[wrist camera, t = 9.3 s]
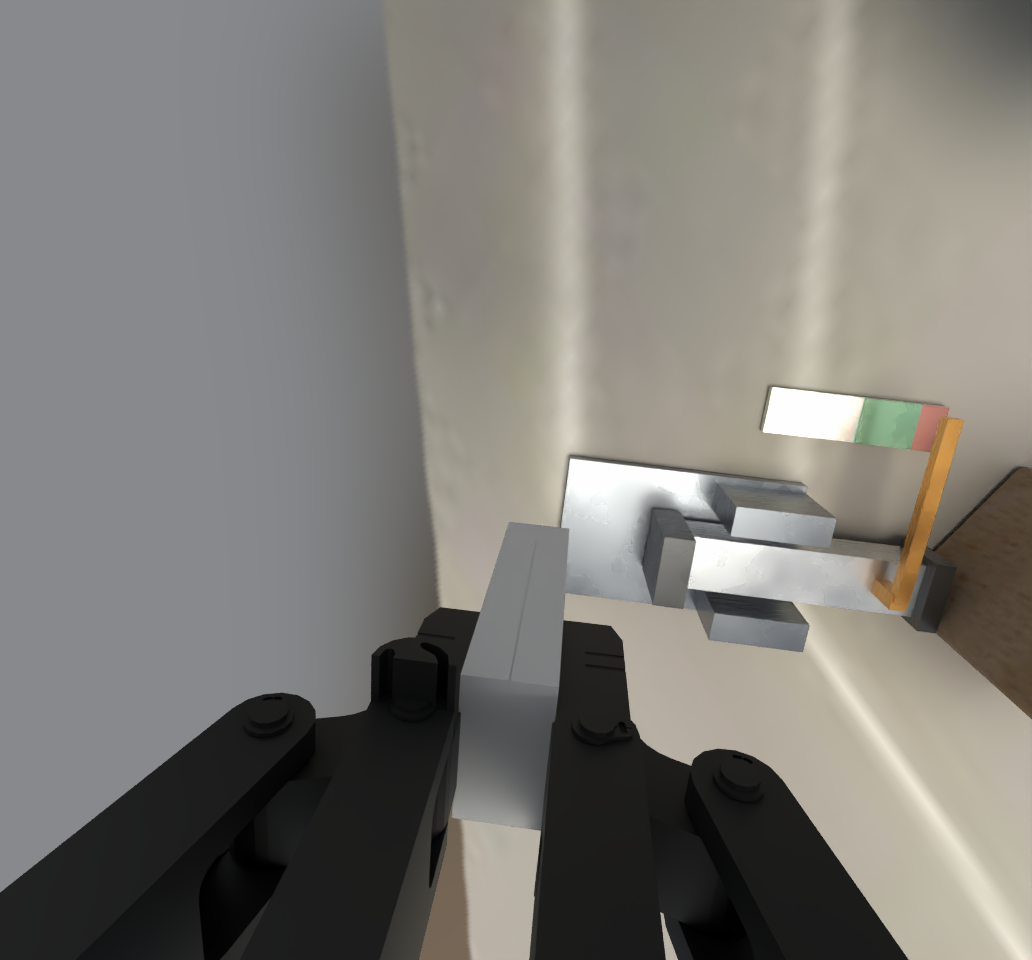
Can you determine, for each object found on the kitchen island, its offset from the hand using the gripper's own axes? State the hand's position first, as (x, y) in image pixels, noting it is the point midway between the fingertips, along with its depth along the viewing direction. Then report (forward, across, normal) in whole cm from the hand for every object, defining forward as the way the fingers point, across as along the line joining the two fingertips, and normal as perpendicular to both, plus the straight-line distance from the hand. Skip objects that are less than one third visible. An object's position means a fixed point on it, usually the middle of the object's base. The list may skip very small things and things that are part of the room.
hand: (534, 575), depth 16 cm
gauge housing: (+22, +11, -4) cm, 25 cm away
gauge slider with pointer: (+21, +13, -3) cm, 25 cm away
